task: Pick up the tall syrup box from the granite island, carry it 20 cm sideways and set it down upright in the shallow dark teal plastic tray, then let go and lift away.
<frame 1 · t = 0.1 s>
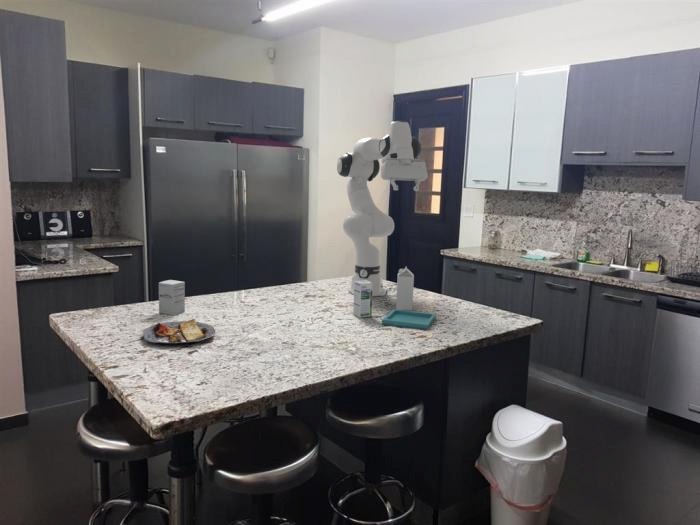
hand: (406, 190, 220), 52 cm above the kitchen island, tool tilted 20°, fingers open, 8 cm apart
food plate: (179, 337, 185), on the kitchen island
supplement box: (172, 313, 215), on the kitchen island
tray: (409, 321, 215), on the kitchen island
milk carton: (403, 309, 235), on the kitchen island
syrup box: (362, 316, 221), on the kitchen island
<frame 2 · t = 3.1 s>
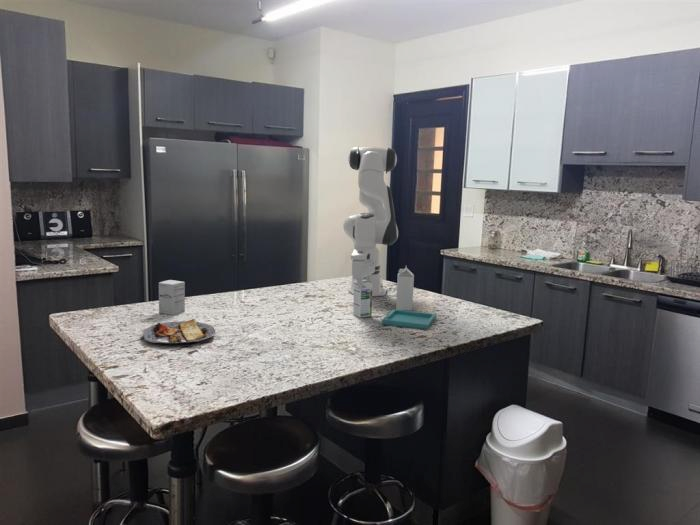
hand: (363, 286, 218), 12 cm above the kitchen island, tool pointing down, fingers open, 8 cm apart
syrup box: (362, 316, 221), on the kitchen island, touching gripper
everything else where it was.
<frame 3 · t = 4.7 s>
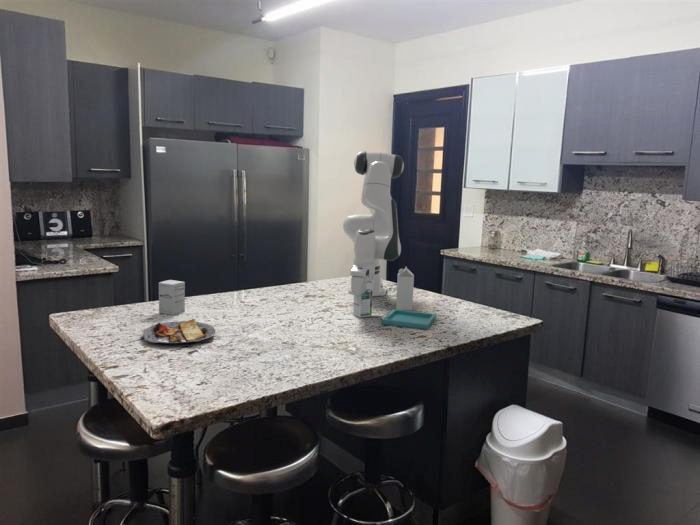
hand: (362, 301, 220), 6 cm above the kitchen island, tool pointing down, fingers closed on syrup box, 8 cm apart
syrup box: (362, 316, 221), on the kitchen island, touching gripper
everything else where it was.
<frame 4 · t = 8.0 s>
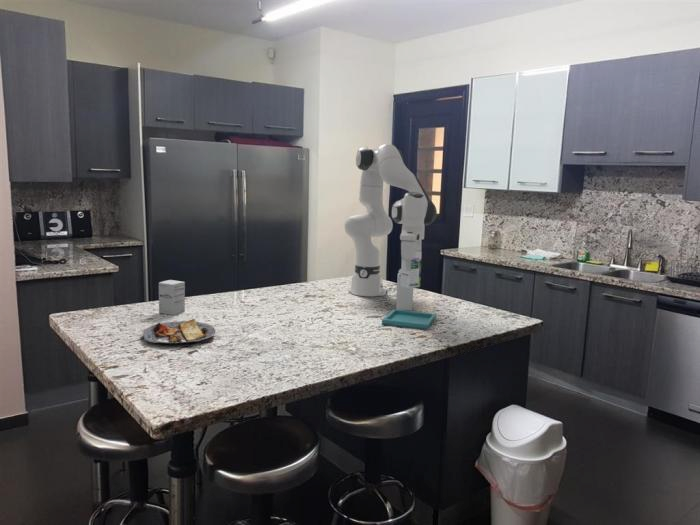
hand: (411, 269, 211), 21 cm above the kitchen island, tool pointing down, fingers closed on syrup box, 8 cm apart
syrup box: (410, 286, 212), point 14 cm above the kitchen island, touching gripper
everything else where it was.
when the fingers open (8 cm above the kitchen island, at t = 11.7 s): syrup box stays where it is, resting on tray.
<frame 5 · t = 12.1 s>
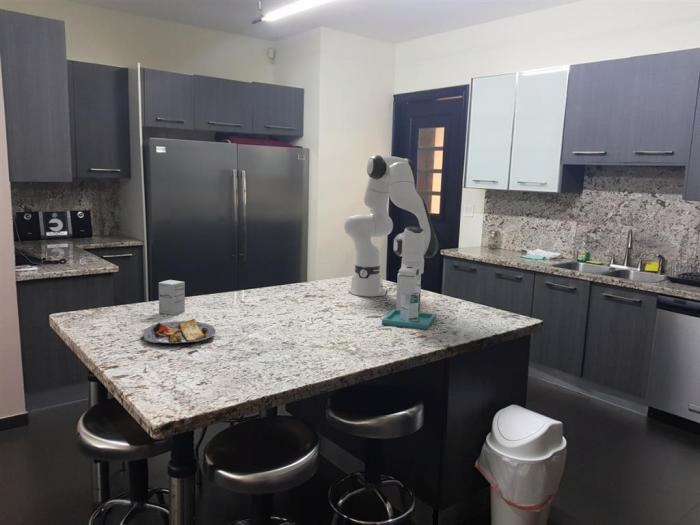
hand: (410, 302, 213), 8 cm above the kitchen island, tool pointing down, fingers open, 8 cm apart
syrup box: (409, 320, 215), resting on tray
everything else where it was.
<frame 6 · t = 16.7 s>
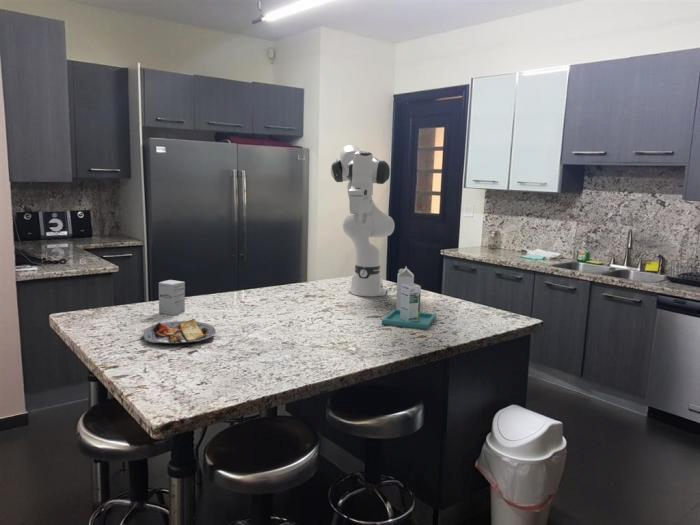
hand: (360, 224, 225), 37 cm above the kitchen island, tool pointing down, fingers open, 8 cm apart
nothing on the kitchen island moved.
at the end: syrup box inside the target area on the tray (0.1 cm from its centre), point 0.4 cm above the tray's base; syrup box tilted 0°; the gripper is holding nothing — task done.
